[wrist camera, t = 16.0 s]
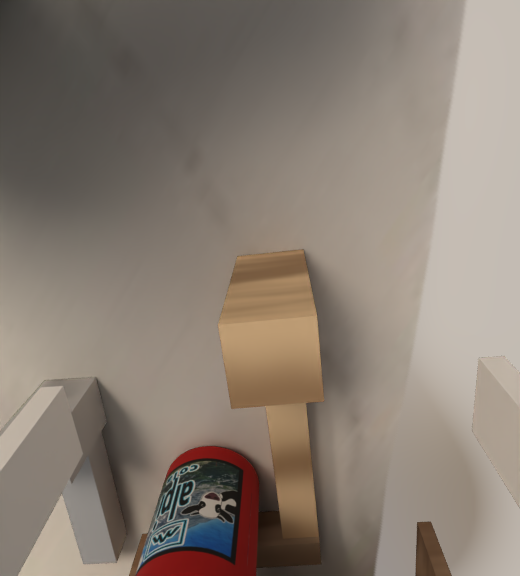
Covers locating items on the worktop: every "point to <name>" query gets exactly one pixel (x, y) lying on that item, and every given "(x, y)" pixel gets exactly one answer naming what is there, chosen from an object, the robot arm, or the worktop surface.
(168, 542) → the beverage can
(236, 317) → the crook tool
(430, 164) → the worktop surface
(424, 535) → the shelf
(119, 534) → the grey hooked tool
